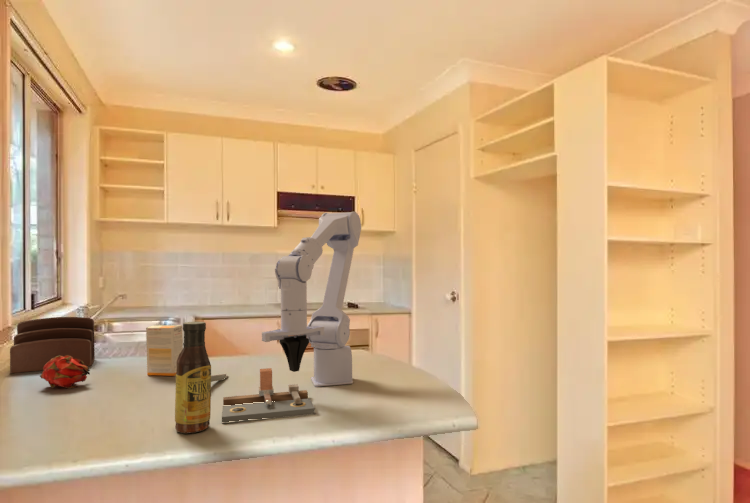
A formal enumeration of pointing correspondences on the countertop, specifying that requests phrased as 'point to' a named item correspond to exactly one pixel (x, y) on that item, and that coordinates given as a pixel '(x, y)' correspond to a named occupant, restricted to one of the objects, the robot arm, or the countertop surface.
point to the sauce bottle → (193, 381)
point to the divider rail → (281, 396)
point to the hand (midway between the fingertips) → (294, 370)
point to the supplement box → (163, 349)
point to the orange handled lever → (266, 385)
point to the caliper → (218, 377)
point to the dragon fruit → (64, 371)
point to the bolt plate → (267, 410)
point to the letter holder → (51, 342)
